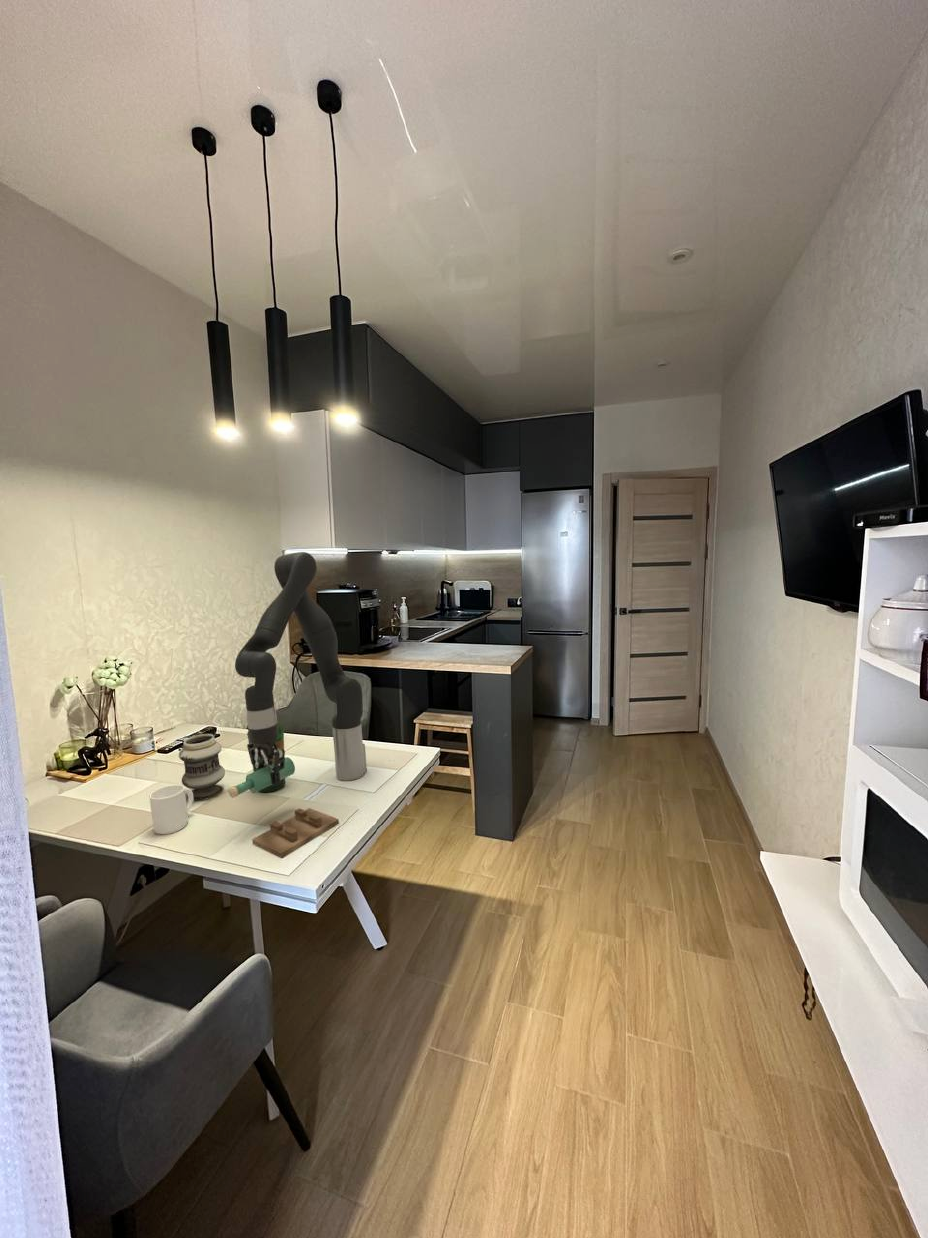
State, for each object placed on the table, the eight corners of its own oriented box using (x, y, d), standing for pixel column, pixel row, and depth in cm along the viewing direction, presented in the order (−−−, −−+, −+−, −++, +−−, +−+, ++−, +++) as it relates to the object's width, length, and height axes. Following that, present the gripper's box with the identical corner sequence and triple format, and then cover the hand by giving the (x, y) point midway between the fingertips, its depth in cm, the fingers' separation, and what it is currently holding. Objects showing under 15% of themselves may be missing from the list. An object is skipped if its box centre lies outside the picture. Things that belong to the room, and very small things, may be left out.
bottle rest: (310, 812, 142) (308, 800, 141) (338, 823, 135) (337, 810, 134) (252, 843, 127) (251, 830, 126) (281, 858, 120) (280, 844, 120)
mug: (184, 811, 146) (179, 777, 144) (206, 814, 143) (202, 780, 142) (146, 833, 134) (141, 797, 133) (169, 837, 132) (165, 800, 130)
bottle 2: (284, 773, 145) (282, 756, 144) (295, 776, 142) (293, 758, 141) (227, 800, 130) (224, 781, 130) (238, 804, 128) (236, 785, 127)
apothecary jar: (177, 804, 149) (170, 747, 147) (192, 786, 161) (186, 733, 159) (219, 800, 151) (213, 743, 149) (231, 782, 163) (226, 729, 161)
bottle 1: (276, 796, 152) (268, 707, 148) (245, 794, 154) (236, 707, 151) (295, 780, 162) (287, 697, 159) (265, 778, 165) (257, 696, 161)
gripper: (290, 722, 135) (297, 781, 137) (258, 715, 143) (265, 771, 145) (266, 732, 129) (273, 793, 131) (234, 723, 136) (242, 782, 139)
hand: (269, 781), depth 138 cm, fingers closed on bottle 2, 5 cm apart
